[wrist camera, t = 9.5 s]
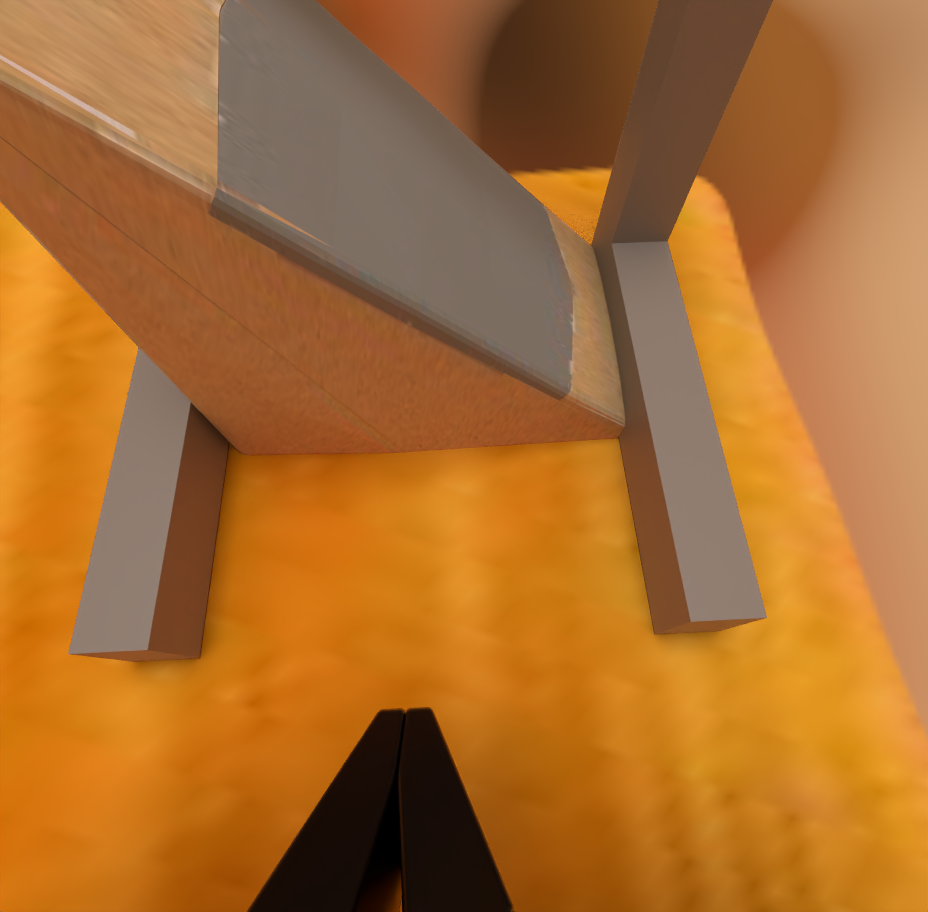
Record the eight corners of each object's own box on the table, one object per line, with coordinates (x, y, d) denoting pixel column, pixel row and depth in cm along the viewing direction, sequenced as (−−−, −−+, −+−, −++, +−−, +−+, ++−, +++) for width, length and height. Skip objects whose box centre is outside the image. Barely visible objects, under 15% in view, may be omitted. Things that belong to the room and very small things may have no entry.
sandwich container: (661, 447, 20) (1077, -91, 6) (240, 466, 20) (-261, -50, 6) (622, 266, 24) (839, -334, 10) (263, 280, 23) (-24, -315, 10)
